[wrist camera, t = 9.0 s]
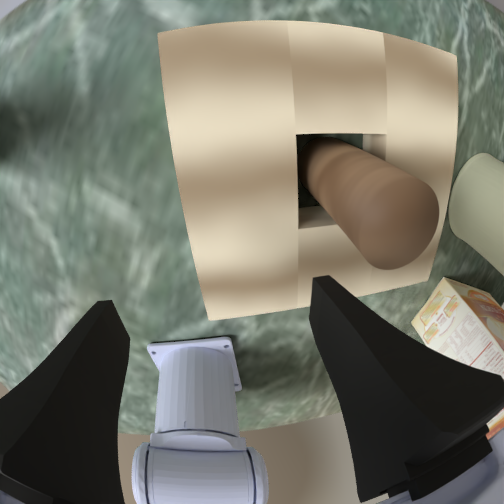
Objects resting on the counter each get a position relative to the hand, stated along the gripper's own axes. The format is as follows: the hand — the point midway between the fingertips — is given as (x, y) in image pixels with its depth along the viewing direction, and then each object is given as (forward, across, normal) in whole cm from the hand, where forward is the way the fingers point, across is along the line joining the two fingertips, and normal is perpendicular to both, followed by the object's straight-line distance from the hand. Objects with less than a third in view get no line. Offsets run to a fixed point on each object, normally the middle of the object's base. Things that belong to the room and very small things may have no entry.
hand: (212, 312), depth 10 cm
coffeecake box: (+10, -28, +16) cm, 34 cm away
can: (+10, -25, +1) cm, 27 cm away
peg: (+10, -8, -2) cm, 13 cm away
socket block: (+10, -8, -2) cm, 13 cm away
